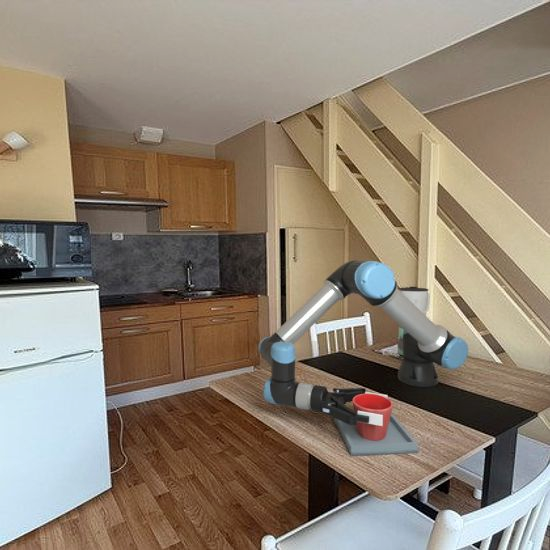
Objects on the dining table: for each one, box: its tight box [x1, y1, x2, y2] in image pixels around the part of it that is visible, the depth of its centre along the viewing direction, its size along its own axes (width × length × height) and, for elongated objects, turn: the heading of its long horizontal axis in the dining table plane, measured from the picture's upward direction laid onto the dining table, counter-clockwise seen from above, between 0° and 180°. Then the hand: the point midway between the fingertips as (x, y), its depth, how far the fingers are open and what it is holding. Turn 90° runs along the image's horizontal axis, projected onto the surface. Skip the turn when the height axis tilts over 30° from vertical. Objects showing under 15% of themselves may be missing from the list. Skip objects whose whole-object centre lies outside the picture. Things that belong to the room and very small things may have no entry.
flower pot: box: [352, 393, 394, 441], centre depth 100 cm, size 11×11×10 cm
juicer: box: [397, 286, 431, 358], centre depth 171 cm, size 19×13×35 cm
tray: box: [334, 412, 419, 457], centre depth 100 cm, size 18×18×2 cm
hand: (385, 409), depth 98 cm, fingers open, 13 cm apart
